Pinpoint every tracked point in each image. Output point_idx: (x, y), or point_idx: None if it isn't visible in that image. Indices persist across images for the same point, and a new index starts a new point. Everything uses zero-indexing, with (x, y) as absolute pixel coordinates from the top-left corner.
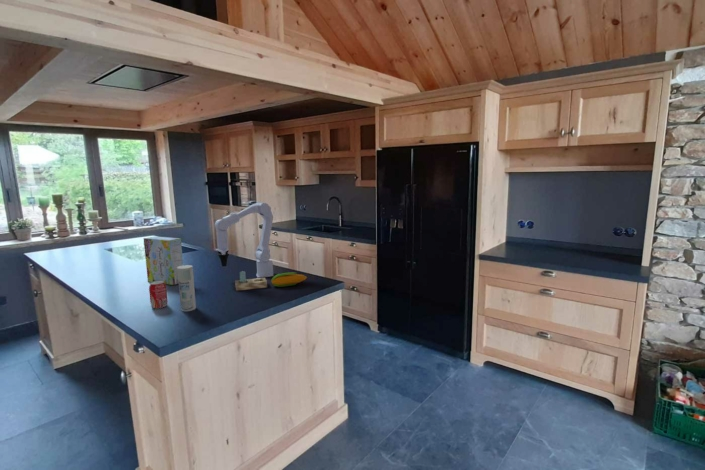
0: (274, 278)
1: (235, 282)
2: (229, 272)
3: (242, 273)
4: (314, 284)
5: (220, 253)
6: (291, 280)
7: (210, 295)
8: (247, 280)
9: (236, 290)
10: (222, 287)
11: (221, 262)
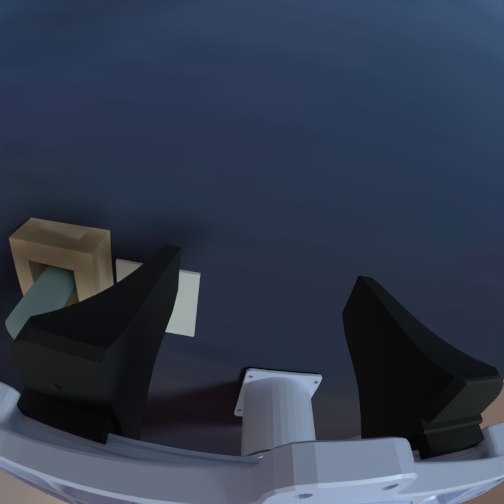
0: None
1: (55, 246)
2: (478, 270)
3: (8, 323)
4: None
5: (420, 383)
6: None
7: (8, 69)
8: None
9: (29, 220)
10: (131, 146)
11: (134, 271)
